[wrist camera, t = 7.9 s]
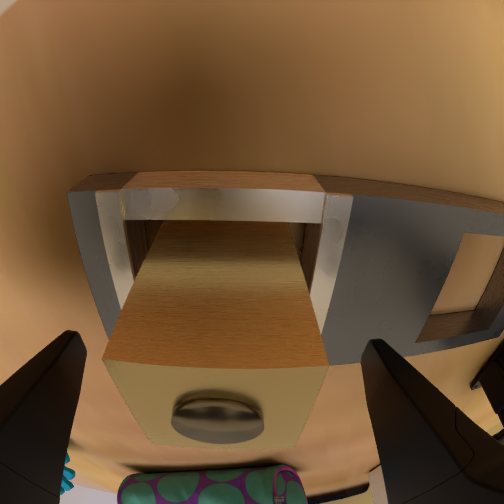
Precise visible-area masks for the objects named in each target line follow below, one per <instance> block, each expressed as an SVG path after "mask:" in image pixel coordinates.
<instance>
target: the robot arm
mask: <svg viewBox="0 0 504 504" xmlns="http://www.w3.org/2000/svg"><path fill="white" fill-rule="evenodd" d="M86 357H87V350H86V347H85V345H84V343H83V340H82V338H81V336H80V334H79V333H78V332H77V331H71V330H66V331H65V332H63V333H62V334H61V335H60V336H58V337H57V338H56V339H55V340H53V341H52V342H51V343H50V344H49V345H47V346H46V347H45V348H44V349H42V350H41V351H40V352H39V353H38V354H36V355H35V356H34V357H33V358H32V359H30V360H29V361H28V362H27V363H26V364H25V365H23V366H22V367H21V368H20V369H19V370H18V371H16V372H15V373H14V374H13V375H12V376H11V377H9V378H8V379H7V380H6V381H5V382H4V383H3V384H1V385H0V504H59V502H60V492H61V484H62V478H63V471H64V465H65V459H66V454H67V448H68V443H69V439H70V434H71V429H72V425H73V420H74V416H75V412H76V408H77V404H78V400H79V396H80V391H81V385H82V379H83V373H84V367H85V362H86ZM361 367H362V374H363V380H364V387H365V395H366V401H367V407H368V411H369V415H370V419H371V423H372V428H373V432H374V436H375V441H376V445H377V449H378V454H379V459H380V464H381V468H382V473H383V479H384V484H385V489H386V495H387V500H388V504H504V429H502V430H501V431H500V432H499V433H497V434H495V435H493V436H491V435H489V434H488V433H487V432H485V431H484V430H483V429H482V428H480V427H479V426H478V425H477V424H475V423H474V422H473V421H472V420H471V419H470V418H469V417H467V416H466V415H465V414H464V413H463V412H462V411H461V410H460V409H459V408H458V407H455V405H454V404H453V403H452V402H451V401H450V400H449V399H448V398H447V397H446V396H445V395H444V394H442V393H441V392H440V391H439V390H438V389H437V388H436V387H435V386H434V385H433V384H432V383H431V382H429V381H428V380H427V379H426V378H425V377H424V376H423V375H422V374H421V373H420V372H419V371H417V370H416V369H415V368H414V367H413V366H412V365H411V364H410V363H409V362H408V361H406V360H405V359H404V358H403V357H402V356H401V355H400V354H399V353H398V352H396V351H395V350H394V349H393V348H392V347H391V346H390V345H389V344H388V343H386V342H385V341H384V340H383V339H380V338H378V339H370V340H369V341H368V343H367V345H366V347H365V349H364V351H363V354H362V356H361ZM479 387H482V388H483V390H484V392H485V394H486V396H487V398H488V400H489V402H490V404H491V406H492V408H493V410H494V412H495V414H498V416H499V419H500V421H501V423H502V425H503V427H504V342H503V343H502V344H501V346H500V347H499V349H498V350H497V351H496V353H495V354H494V356H493V357H492V358H491V360H490V361H489V362H488V364H487V365H486V366H485V368H484V369H483V370H482V371H481V373H480V374H479V375H478V377H477V378H476V379H475V380H474V381H473V383H472V384H471V385H470V388H471V390H474V389H477V388H479Z"/></svg>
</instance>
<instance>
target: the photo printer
mask: <svg viewBox="0 0 504 504" xmlns="http://www.w3.org/2000/svg"><path fill="white" fill-rule="evenodd" d="M368 478H369V483H370V487H371V492H372V497H373V501H374V504H388V500H387V495H386V489H385V484H384V479H383V473H382V468H381V465H380V466H379V467H377V468H376V469H374V470H373V471H371V472H370V473H369V474H368Z"/></svg>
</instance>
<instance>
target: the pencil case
mask: <svg viewBox="0 0 504 504" xmlns="http://www.w3.org/2000/svg"><path fill="white" fill-rule="evenodd" d="M117 503H118V504H308V503H307V499H306V495H305V491H304V488H303V485H302V483H301V480H300V478H299V476H298V474H297V473H296V472H295V471H294V470H293V469H292V468H291V467H290V466H288V465H284V464H281V465H274V466H271V467H255V468H241V469H228V470H204V471H188V472H168V473H152V474H141V473H137V474H132V475H129V476H127V477H126V478H125V479H124V480H123V481H122V483H121V485H120V487H119V489H118V494H117Z"/></svg>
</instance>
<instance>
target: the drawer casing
mask: <svg viewBox="0 0 504 504" xmlns="http://www.w3.org/2000/svg"><path fill="white" fill-rule="evenodd" d="M67 197H68V202H69V207H70V212H71V217H72V222H73V226H74V230H75V235H76V239H77V243H78V247H79V250H80V254H81V258H82V262H83V265H84V269H85V272H86V275H87V279H88V282H89V285H90V288H91V291H92V294H93V298H94V300H95V303H96V306H97V309H98V312H99V315H100V318H101V320H102V323H103V326H104V328H105V331H106V333H107V336H108V339H110V337H111V334H112V332H113V329H114V327H115V324H116V322H117V319H118V317H119V315H120V312H121V310H122V308H123V305H124V303H125V301H126V298H127V296H128V294H129V292H130V289H131V287H132V285H133V283H134V281H135V278H136V276H137V274H138V272H139V270H140V268H141V266H142V263H143V261H144V259H145V257H146V255H147V253H148V246H147V239H146V232H145V224H144V220H229V221H269V222H299V223H306V228H305V235H304V242H303V249H302V256H301V262H300V264H301V268H302V271H303V274H304V278H305V281H306V284H307V288H308V291H309V295H310V298H311V301H312V305H313V308H314V312H315V315H316V319H317V323H318V326H319V330H320V333H321V337H322V341H323V344H324V348H325V352H326V356H327V359H328V363H329V365H341V364H352V363H361V356H362V354H363V351H364V349H365V347H366V345H367V343H368V341H369V340H370V339H378V338H380V339H383V340H384V341H385V342H386V343H388V344H389V345H390V346H391V347H392V348H393V349H394V350H395V351H396V352H398V353H399V354H400V355H401V356H402V357H407V356H413V355H419V354H425V353H431V352H436V351H441V350H446V349H451V348H456V347H460V346H465V345H469V344H473V343H477V342H481V341H485V340H489V339H493V338H497V337H499V336H500V335H501V333H502V331H503V330H504V250H503V252H502V255H501V257H500V259H499V262H498V264H497V266H496V269H495V271H494V273H493V275H492V277H491V280H490V282H489V284H488V286H487V288H486V290H485V292H484V294H483V296H482V298H481V300H480V302H479V304H478V305H477V307H476V309H475V310H473V311H465V312H458V313H450V314H442V315H433V316H429V315H430V313H431V311H432V309H433V307H434V304H435V302H436V300H437V298H438V296H439V294H440V292H441V289H442V287H443V285H444V282H445V280H446V278H447V275H448V273H449V271H450V268H451V266H452V263H453V261H454V258H455V256H456V253H457V250H458V248H459V245H460V242H461V239H462V236H463V234H464V233H474V234H485V235H495V236H504V203H503V202H498V201H494V200H489V199H485V198H480V197H475V196H470V195H465V194H460V193H454V192H449V191H443V190H437V189H431V188H425V187H418V186H412V185H405V184H397V183H390V182H382V181H373V180H365V179H355V178H345V177H334V176H323V175H310V174H294V173H276V172H252V171H154V172H131V173H113V174H99V175H90V176H88V177H87V178H86V179H84V180H83V181H81V182H80V183H79V184H77V185H76V186H75V187H73V188H72V189H71V190H69V191H68V192H67Z"/></svg>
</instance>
